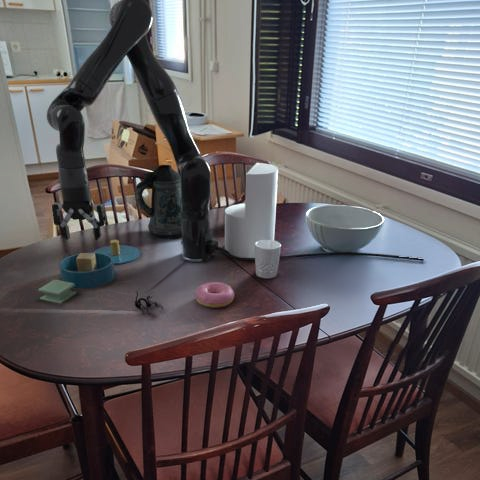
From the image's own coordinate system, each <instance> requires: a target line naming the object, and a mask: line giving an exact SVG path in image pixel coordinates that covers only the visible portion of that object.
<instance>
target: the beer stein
mask: <svg viewBox="0 0 480 480" xmlns="http://www.w3.org/2000/svg"><path fill="white" fill-rule="evenodd" d="M142 178H143V180H141V181H139V182H138V183H137V184H136V186H135V192H134V193H135V194H134V195H135V200H136V202H137V204H138V206H139V207H140V208H141V209H142V210H143V211H144V212H145V213H146V214H147V215H148V216H150V218H149V222H148V226H147V228H148V233H149V235H150V236H151V237H153V238H156V239H159V240H166V241H167V240H168V241H170V240H180V239H182V228H181V204H180V200H181V177H180V175H179V172H178V171H176V170H175V169H173V168H172V165H171V164H160V165H157V166H156V168H155V169H154V170H153V171H148V172H146V173H144V174H143V177H142ZM145 190H151V198H150V199H151V201H150V206H149V205H148V204H147V202H146V201H145V199H144V198H143V194H144V191H145Z"/></svg>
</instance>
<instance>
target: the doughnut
mask: <svg viewBox="0 0 480 480" xmlns="http://www.w3.org/2000/svg"><path fill="white" fill-rule="evenodd" d="M194 296H195V300H196V301H197V302H198V304H199V305H201V306H203V307H206V308H209V309H219V308H224V307H226V306H228V305H230V304H231V303H232V302H233V301H234V299H235V298H234V297H235V291H234V289H233V287H231V286H230V285H229V284H226V283H224V282H214V281H212V282H206V283H203V284H201V285H200V286H198V287H197V288H196V290H195V292H194Z"/></svg>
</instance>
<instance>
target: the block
mask: <svg viewBox="0 0 480 480" xmlns="http://www.w3.org/2000/svg"><path fill="white" fill-rule="evenodd" d="M78 254H79V255H78V257H77V258H76V262H77V268H78V270H77V272H87V271H94V270H98V268H97V265H96V258H95V253H92V252H80V253H78Z"/></svg>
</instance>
